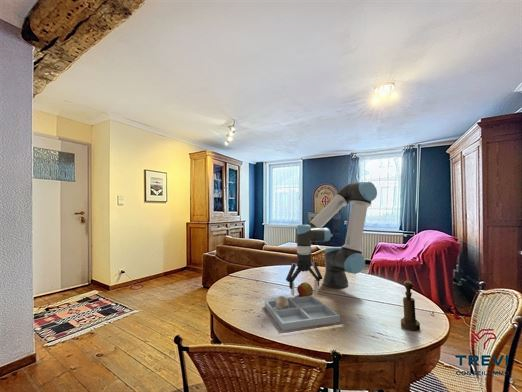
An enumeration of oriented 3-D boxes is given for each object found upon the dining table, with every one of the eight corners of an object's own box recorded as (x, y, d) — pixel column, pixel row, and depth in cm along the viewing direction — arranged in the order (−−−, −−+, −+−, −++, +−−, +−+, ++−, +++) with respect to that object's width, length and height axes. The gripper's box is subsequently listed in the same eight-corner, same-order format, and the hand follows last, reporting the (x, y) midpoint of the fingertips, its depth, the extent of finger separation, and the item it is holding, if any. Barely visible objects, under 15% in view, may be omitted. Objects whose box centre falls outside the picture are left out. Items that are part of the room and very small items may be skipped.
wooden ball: (286, 306, 119) (285, 293, 119) (290, 311, 113) (290, 298, 114) (274, 308, 118) (273, 295, 118) (278, 313, 112) (277, 299, 112)
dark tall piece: (397, 324, 102) (395, 279, 103) (412, 323, 102) (410, 278, 103) (408, 332, 95) (405, 283, 96) (424, 331, 96) (421, 283, 97)
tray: (312, 302, 126) (312, 295, 127) (340, 324, 102) (340, 315, 103) (264, 308, 120) (264, 301, 120) (282, 333, 96) (282, 323, 96)
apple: (303, 294, 139) (302, 279, 140) (315, 297, 133) (315, 282, 134) (294, 297, 134) (294, 282, 134) (307, 301, 128) (306, 285, 128)
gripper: (321, 251, 142) (322, 289, 140) (279, 253, 135) (280, 293, 134) (328, 253, 134) (329, 293, 133) (284, 255, 128) (285, 298, 127)
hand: (304, 293), depth 134 cm, fingers open, 13 cm apart
